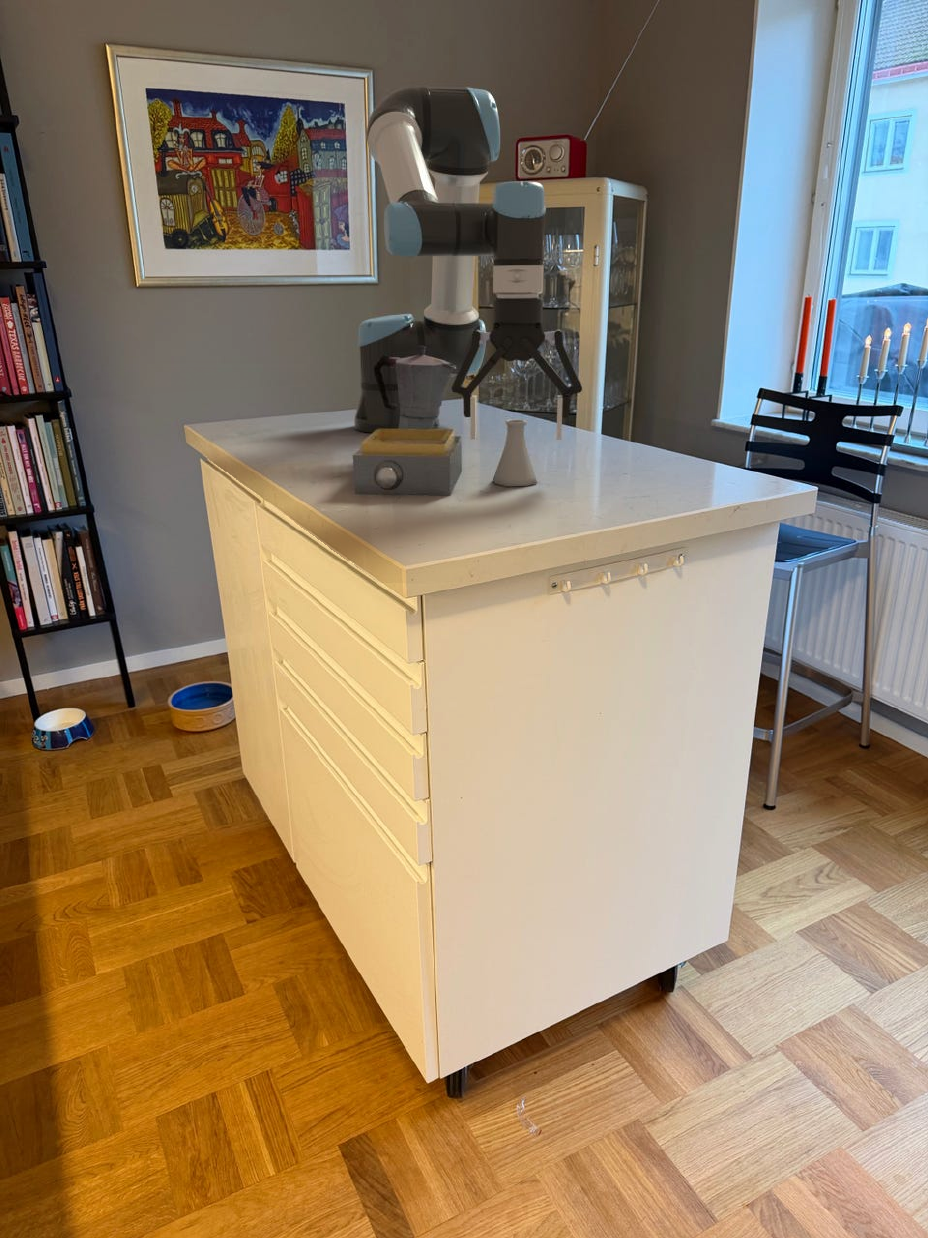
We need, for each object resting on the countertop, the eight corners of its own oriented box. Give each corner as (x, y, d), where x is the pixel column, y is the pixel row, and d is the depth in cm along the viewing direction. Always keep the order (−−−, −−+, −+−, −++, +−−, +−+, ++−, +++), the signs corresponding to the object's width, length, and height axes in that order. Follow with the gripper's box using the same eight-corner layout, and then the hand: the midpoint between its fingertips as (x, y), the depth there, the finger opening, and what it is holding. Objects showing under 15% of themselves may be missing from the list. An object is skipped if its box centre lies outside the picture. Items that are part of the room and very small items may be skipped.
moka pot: (451, 465, 153) (450, 347, 146) (368, 462, 156) (363, 346, 149) (462, 454, 162) (461, 343, 155) (383, 451, 165) (379, 342, 157)
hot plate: (376, 469, 150) (374, 426, 147) (461, 471, 149) (461, 427, 146) (351, 497, 132) (348, 448, 129) (448, 499, 131) (447, 449, 128)
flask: (485, 480, 143) (485, 418, 139) (524, 476, 145) (525, 415, 141) (504, 489, 136) (505, 425, 133) (544, 485, 139) (546, 422, 135)
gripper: (432, 297, 128) (435, 441, 136) (602, 296, 125) (595, 442, 133) (439, 296, 135) (441, 433, 143) (600, 295, 132) (593, 434, 140)
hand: (516, 438), depth 138 cm, fingers open, 13 cm apart
